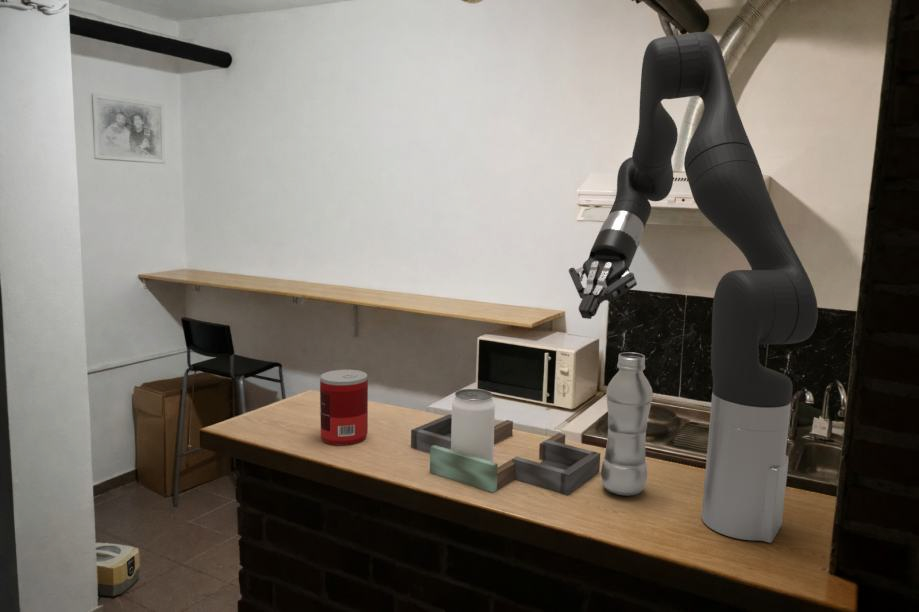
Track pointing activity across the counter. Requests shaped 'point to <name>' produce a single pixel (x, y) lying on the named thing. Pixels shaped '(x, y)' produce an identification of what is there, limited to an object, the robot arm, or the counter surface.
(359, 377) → the canned food
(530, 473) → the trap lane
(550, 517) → the counter surface
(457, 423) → the can
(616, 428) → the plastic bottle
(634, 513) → the counter surface
